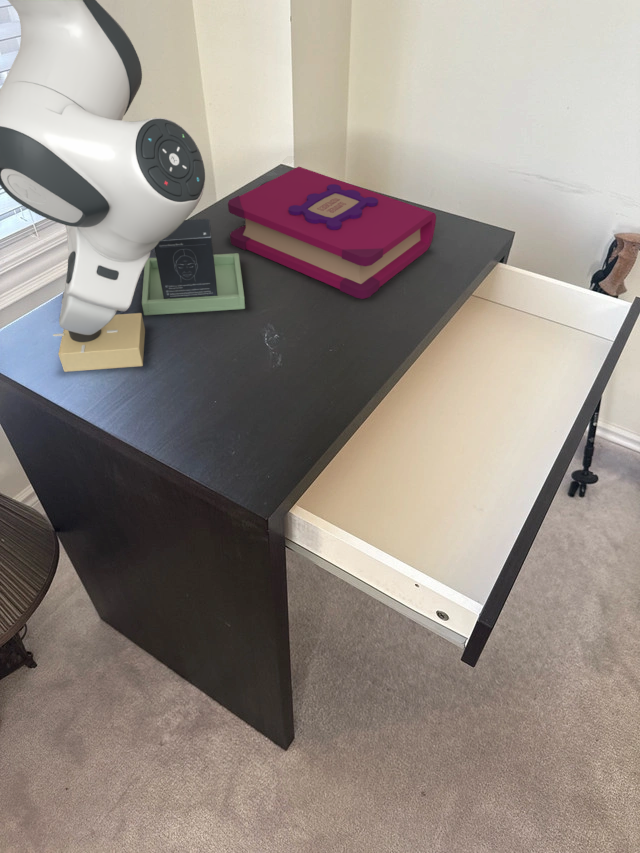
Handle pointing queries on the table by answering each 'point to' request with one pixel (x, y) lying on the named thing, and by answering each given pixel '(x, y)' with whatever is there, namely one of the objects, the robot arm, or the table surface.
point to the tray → (226, 300)
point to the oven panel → (106, 346)
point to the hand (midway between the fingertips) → (75, 264)
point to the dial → (84, 336)
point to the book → (332, 230)
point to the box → (187, 261)
